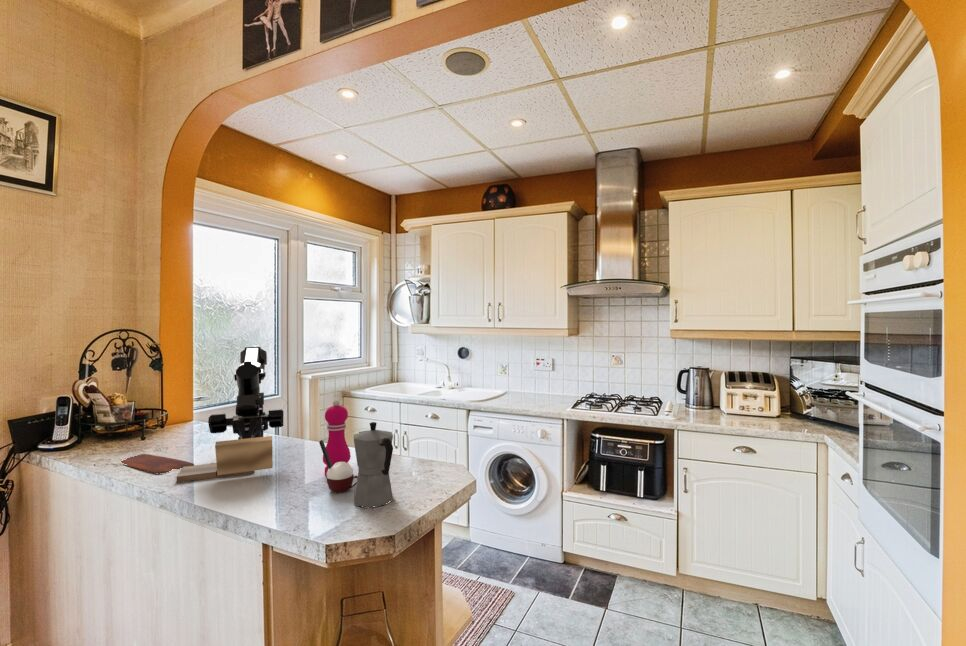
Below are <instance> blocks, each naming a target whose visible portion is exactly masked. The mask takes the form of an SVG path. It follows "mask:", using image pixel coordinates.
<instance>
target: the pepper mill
mask: <svg viewBox="0 0 966 646" xmlns="http://www.w3.org/2000/svg"><path fill="white" fill-rule="evenodd" d="M348 417H349V412H348V409H347V408H346V407H345V406H343V405H341V402H340V400H338V399H334V400H333V402H332V406H330V407H328V408H327V409H326V410H325V413H324V420H325V421H326V422H327V423H326V430H327V431H328V438H327V443H326V445H325V447H326V450H327V453H328V455H329V458H330V461H331V463H332V466H333V465H334V464H335V463H337V462H346V463H349V461H350V460H351V451H350V448H349V446H348V444H347V440H346V437H345V429H347V423H346V420H347V419H348ZM322 462H323V464H325V467H324V475H325V476H326V477H327V471H328V469H329V468H328V465H327V462H326V460H325V457H324V454H323V453H322Z"/></svg>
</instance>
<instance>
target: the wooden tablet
mask: <svg viewBox="0 0 966 646" xmlns="http://www.w3.org/2000/svg"><path fill="white" fill-rule="evenodd" d="M136 455H137V456H136ZM136 455H133V456H134V457H133V456H129V457H130V458H129V457H126V458H127V459H126V458H125V459H126V460H123V461H121V462H122V463H124V464H127V465H128V466H127V467H129V466H131V467H130V468H133V467H134V469H137V468H138V469H137V470H140V469H141V470H140V471H143V470H144V472H146V471H148V472H147V473H149V472H151V473H150V474H153V473H158V474H157V475H159V474H160V473H165V474H167V473H166V472H168V473H170V472H169V471H171V470H172V469H179V470H181V469H180V468H183V467H186V466H194V465H195V464H194V463H193V462H190V461H185V460H180V459H177V458H172V457H165V456H159V455H154V454H149V453H148V454H146V453H140V454H136ZM171 472H172V471H171ZM160 475H161V474H160Z"/></svg>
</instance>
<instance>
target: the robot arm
mask: <svg viewBox="0 0 966 646" xmlns="http://www.w3.org/2000/svg"><path fill="white" fill-rule="evenodd" d="M267 353H268V352H267V351H266V350H265V349H262V347H261V345H260V346H259V345H246V346H244V349H243V350H242V351H240V357H239V359H240V360H239V362H240V364H238V367H237V369H236V370H235V371H234V375H233V377H234V381H235V382H236V384H237V388H238V391H237V396H236V405H235V415H233V416H232V417H228V418H227V415H226V413H216V414H215V413H212V414H210V415H209V417H208V429H209V433H211V434H221V433H222V434H223V433H224V432H226V431H227V430H228V429H227V427H229V426H232V432H233V434H237V435H238V438H237V439H247V438H257V437H264V432H265V431H267V430H269V427H270V428H272V429H274V428H283V427H284V410H283V409H282V408H278V409H277V408H276V409H275V408H274V409H268V414H267V413H266V411H264V404H265V392H260V391H261V390H260V389H261V387H260V385H261V383H262V381H264V380H265V377H266V373H267V372H265V371H266V370H265V367H266V365H268V354H267Z"/></svg>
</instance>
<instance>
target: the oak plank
mask: <svg viewBox="0 0 966 646" xmlns="http://www.w3.org/2000/svg"><path fill="white" fill-rule="evenodd" d="M214 445H215V446H214V447H215V448H214V450H215V461H216V462H215V463H217V473H218V475H223V474H231V473H239V472H247V471H254V470H255V471H261V470H268V469H273V467H274V463H273V462H274V461H273V456H274V455H273V435H269V436H263V437H257V438H247V439H238V438H237V439H228V440H220V441H219V440H217V441H215V444H214ZM255 471H254V472H255Z"/></svg>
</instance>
